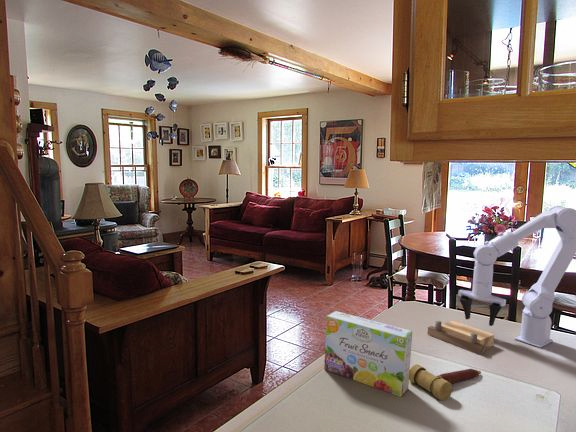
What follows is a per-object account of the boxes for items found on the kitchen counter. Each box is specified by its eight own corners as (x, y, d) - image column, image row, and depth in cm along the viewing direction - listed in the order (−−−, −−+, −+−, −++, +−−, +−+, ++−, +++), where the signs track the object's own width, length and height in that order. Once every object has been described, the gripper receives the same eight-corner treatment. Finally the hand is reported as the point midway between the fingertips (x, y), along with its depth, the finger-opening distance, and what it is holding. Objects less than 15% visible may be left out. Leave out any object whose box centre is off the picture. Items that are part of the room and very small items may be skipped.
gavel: (465, 356, 115) (498, 372, 107) (463, 372, 116) (496, 389, 107) (409, 365, 105) (440, 383, 97) (406, 382, 106) (437, 402, 97)
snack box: (322, 370, 110) (325, 315, 108) (333, 363, 114) (335, 309, 113) (401, 398, 98) (406, 336, 96) (409, 388, 102) (413, 329, 101)
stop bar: (431, 333, 139) (432, 318, 138) (484, 353, 125) (485, 337, 124) (427, 334, 137) (428, 319, 137) (480, 354, 123) (482, 338, 123)
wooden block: (452, 331, 142) (453, 320, 141) (492, 346, 130) (494, 334, 130) (438, 336, 137) (439, 325, 136) (479, 352, 126) (480, 340, 125)
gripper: (510, 284, 135) (506, 325, 137) (465, 275, 145) (462, 313, 147) (502, 288, 130) (499, 330, 132) (456, 278, 140) (453, 318, 142)
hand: (479, 321), depth 139 cm, fingers open, 7 cm apart
